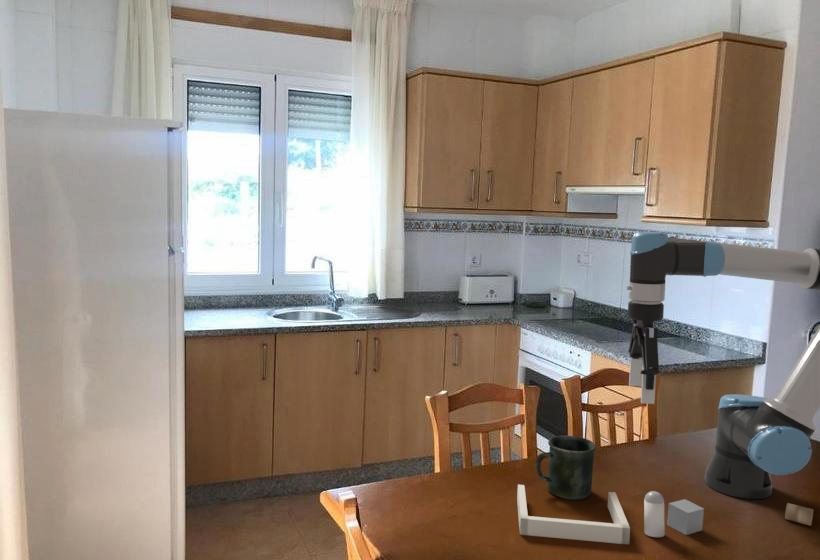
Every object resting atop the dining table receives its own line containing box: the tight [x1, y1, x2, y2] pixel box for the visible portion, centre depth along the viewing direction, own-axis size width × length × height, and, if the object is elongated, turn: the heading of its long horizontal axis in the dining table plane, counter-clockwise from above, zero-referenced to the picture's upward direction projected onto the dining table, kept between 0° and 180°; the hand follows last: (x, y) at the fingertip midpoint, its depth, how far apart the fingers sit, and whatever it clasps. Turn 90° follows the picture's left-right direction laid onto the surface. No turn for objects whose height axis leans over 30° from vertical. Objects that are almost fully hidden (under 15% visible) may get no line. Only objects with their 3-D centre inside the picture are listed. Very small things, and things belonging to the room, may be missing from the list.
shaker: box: [643, 490, 665, 538], centre depth 143 cm, size 4×4×9 cm
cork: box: [784, 502, 814, 527], centre depth 151 cm, size 4×4×5 cm
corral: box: [516, 484, 631, 545], centre depth 148 cm, size 22×17×4 cm
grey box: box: [666, 498, 705, 536], centre depth 147 cm, size 5×5×5 cm
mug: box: [534, 435, 597, 500], centre depth 162 cm, size 11×15×12 cm
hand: (641, 394), depth 154 cm, fingers open, 13 cm apart
